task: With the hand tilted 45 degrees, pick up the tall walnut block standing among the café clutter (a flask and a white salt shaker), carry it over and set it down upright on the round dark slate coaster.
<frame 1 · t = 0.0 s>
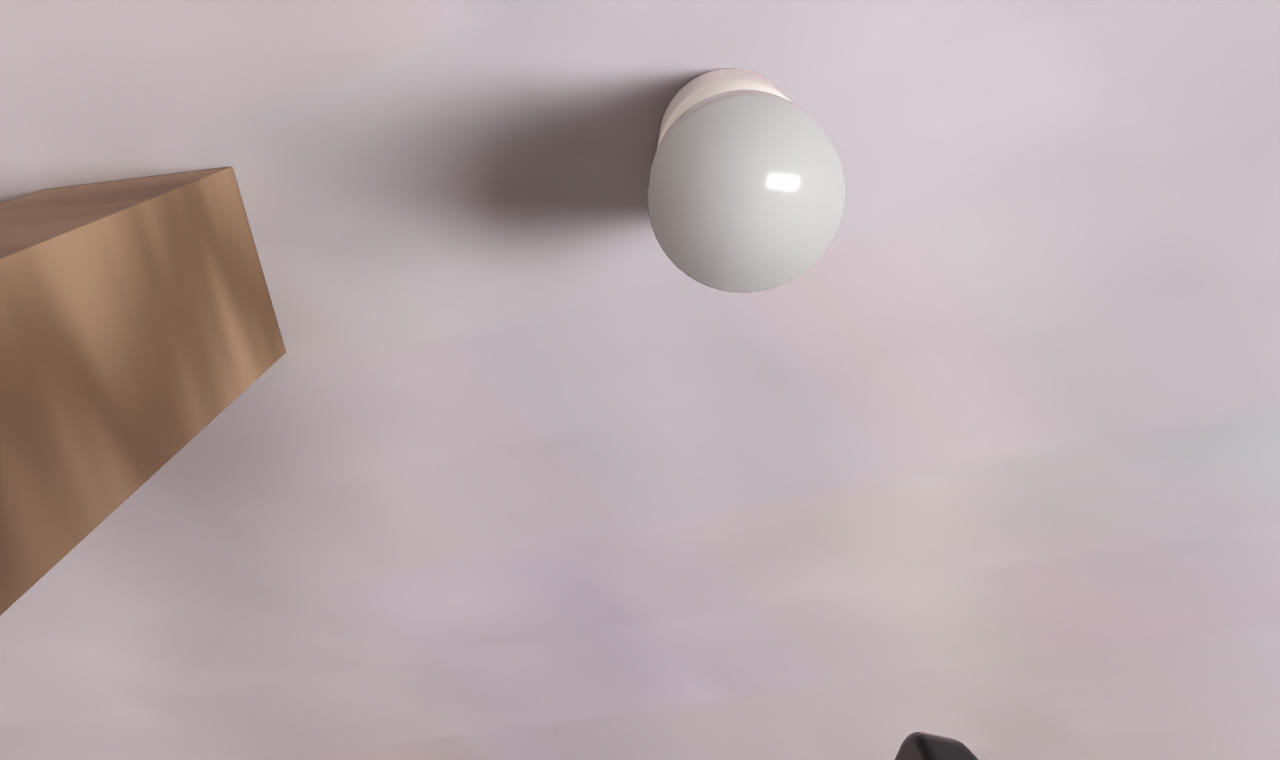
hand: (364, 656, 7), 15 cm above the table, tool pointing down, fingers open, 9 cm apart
salt shaker: (728, 140, 20), on the table
walnut block: (168, 273, 22), on the table
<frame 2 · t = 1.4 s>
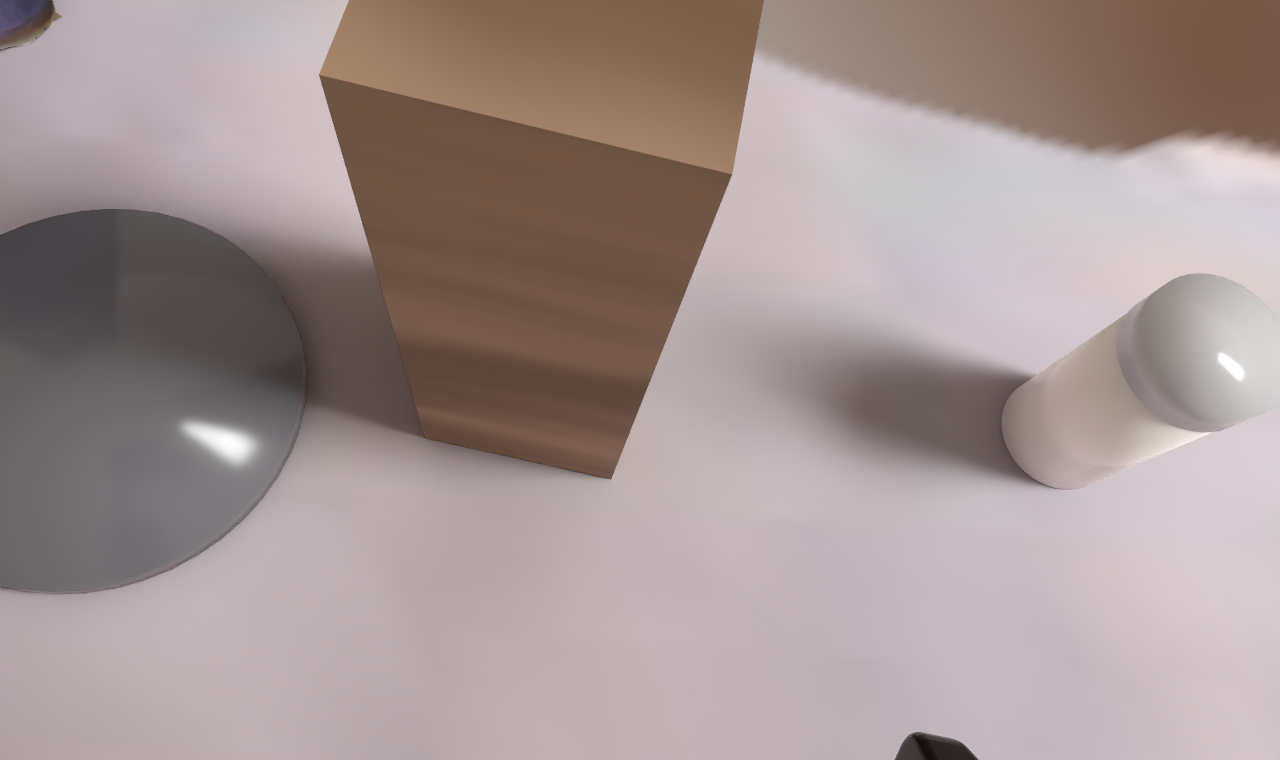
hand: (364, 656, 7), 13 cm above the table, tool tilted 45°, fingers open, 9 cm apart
slate coaster: (101, 394, 21), on the table
salt shaker: (1056, 433, 24), on the table
walnut block: (540, 372, 23), on the table
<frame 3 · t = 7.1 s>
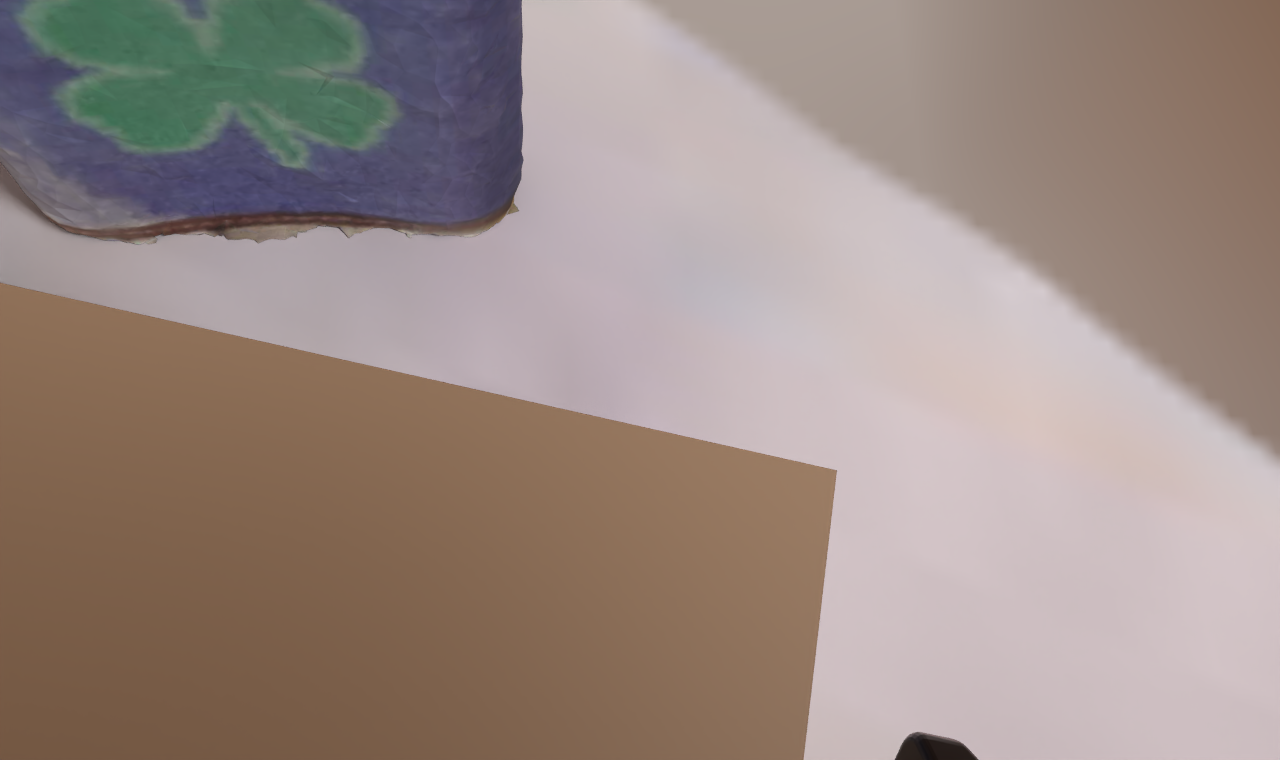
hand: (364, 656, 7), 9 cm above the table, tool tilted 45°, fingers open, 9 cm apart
flask: (295, 189, 19), on the table
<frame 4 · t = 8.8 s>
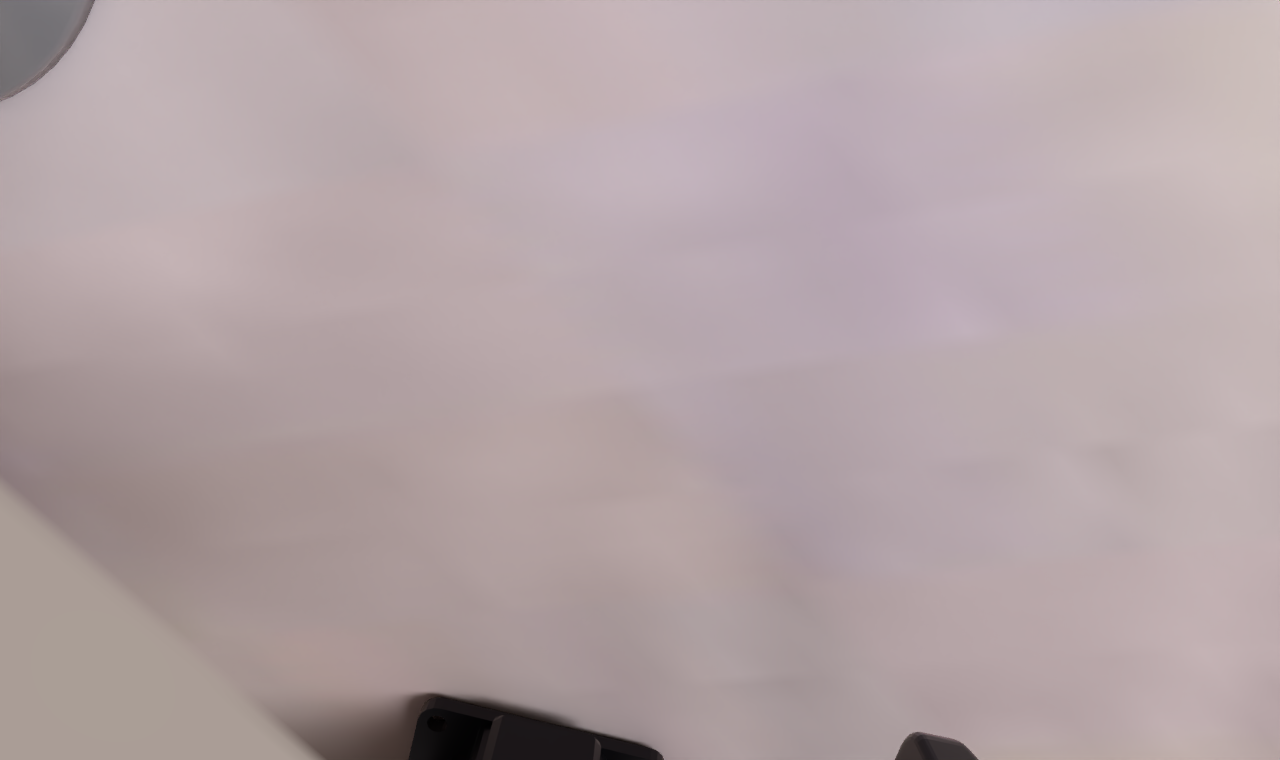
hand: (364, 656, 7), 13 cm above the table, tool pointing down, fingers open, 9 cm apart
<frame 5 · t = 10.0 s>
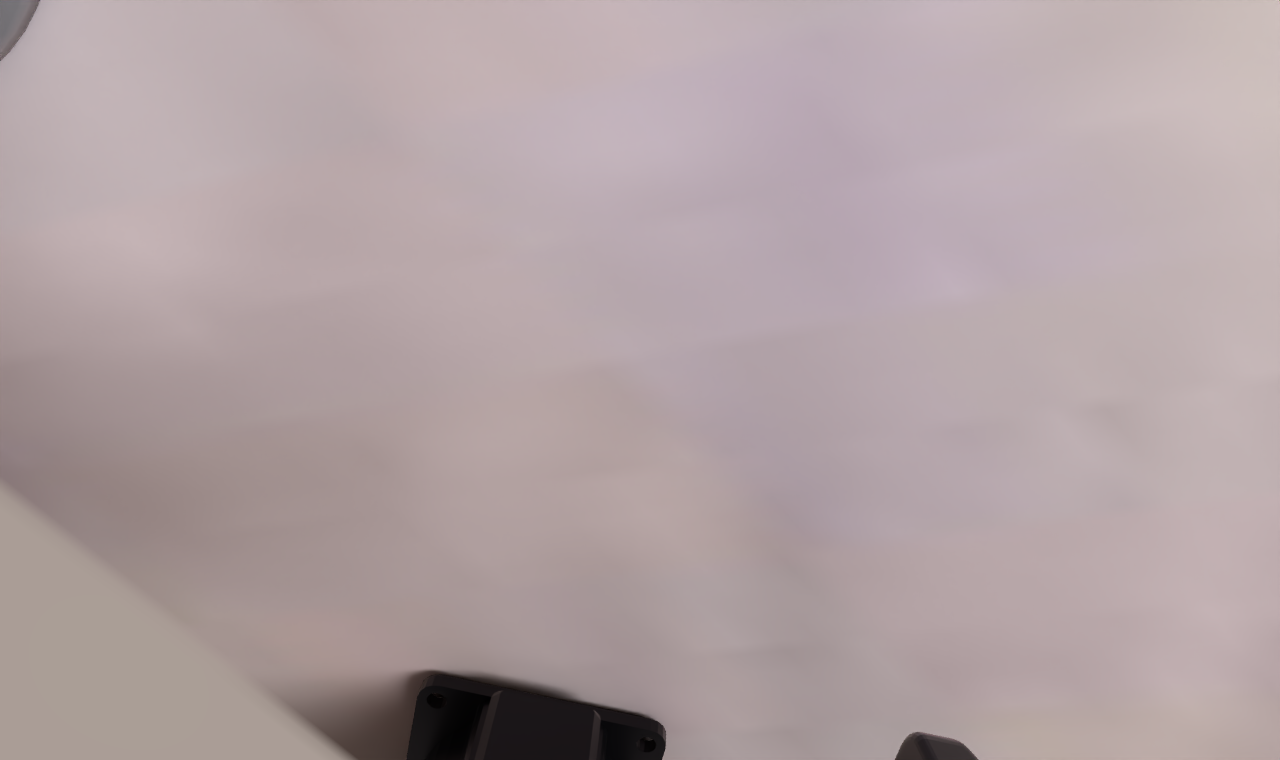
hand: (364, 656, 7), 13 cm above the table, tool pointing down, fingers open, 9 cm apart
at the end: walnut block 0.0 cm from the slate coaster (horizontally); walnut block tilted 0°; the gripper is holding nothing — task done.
